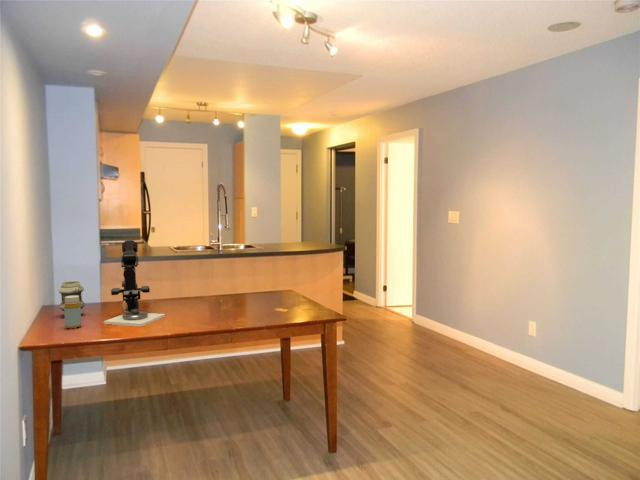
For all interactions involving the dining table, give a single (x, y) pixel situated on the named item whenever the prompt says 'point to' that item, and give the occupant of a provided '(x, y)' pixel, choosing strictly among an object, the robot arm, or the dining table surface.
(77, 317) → the bottle
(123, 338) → the dining table surface
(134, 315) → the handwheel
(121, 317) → the white square plate
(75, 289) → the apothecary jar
